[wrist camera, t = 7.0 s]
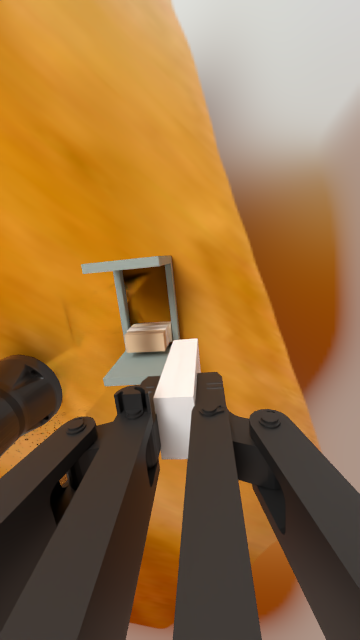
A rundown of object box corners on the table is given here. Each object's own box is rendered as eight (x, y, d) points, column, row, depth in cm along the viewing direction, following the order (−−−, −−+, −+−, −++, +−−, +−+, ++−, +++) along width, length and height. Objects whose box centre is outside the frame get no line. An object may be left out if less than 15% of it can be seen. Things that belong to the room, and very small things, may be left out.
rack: (129, 352, 49) (104, 386, 36) (115, 261, 45) (81, 264, 32) (181, 349, 48) (173, 382, 35) (171, 255, 44) (158, 256, 31)
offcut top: (130, 348, 44) (126, 352, 42) (128, 331, 43) (124, 335, 41) (166, 346, 43) (165, 351, 41) (165, 329, 42) (163, 333, 40)
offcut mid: (132, 343, 46) (129, 348, 44) (130, 327, 45) (126, 331, 43) (169, 341, 45) (167, 345, 43) (167, 324, 44) (165, 328, 42)
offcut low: (136, 339, 48) (133, 343, 46) (134, 323, 48) (130, 326, 45) (173, 337, 48) (172, 341, 45) (172, 321, 47) (170, 324, 44)
